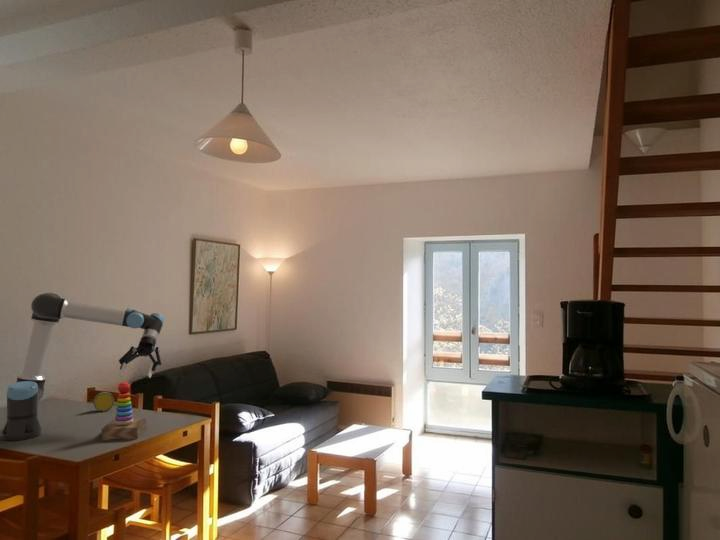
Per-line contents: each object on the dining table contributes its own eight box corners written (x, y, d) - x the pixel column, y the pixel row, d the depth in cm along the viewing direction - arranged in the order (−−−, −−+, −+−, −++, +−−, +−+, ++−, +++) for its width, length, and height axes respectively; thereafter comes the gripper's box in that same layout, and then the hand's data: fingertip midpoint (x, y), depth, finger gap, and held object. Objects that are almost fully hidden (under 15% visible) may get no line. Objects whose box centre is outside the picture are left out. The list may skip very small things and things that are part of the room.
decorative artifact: (93, 412, 276) (93, 393, 276) (92, 410, 282) (92, 391, 282) (114, 410, 281) (114, 391, 281) (112, 407, 287) (112, 389, 287)
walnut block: (101, 440, 228) (101, 429, 228) (112, 430, 243) (112, 420, 243) (137, 438, 230) (137, 427, 231) (145, 429, 245) (145, 418, 245)
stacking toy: (137, 421, 240) (137, 381, 240) (125, 426, 232) (126, 384, 232) (122, 420, 242) (123, 380, 242) (110, 425, 234) (111, 383, 234)
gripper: (175, 345, 266) (162, 380, 251) (126, 344, 266) (111, 379, 251) (171, 336, 260) (158, 372, 245) (121, 335, 261) (106, 371, 246)
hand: (134, 376), depth 248 cm, fingers open, 13 cm apart
